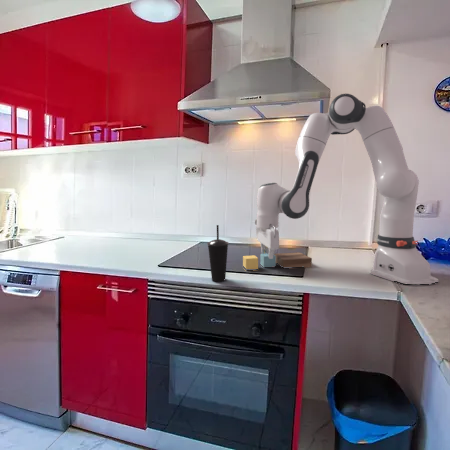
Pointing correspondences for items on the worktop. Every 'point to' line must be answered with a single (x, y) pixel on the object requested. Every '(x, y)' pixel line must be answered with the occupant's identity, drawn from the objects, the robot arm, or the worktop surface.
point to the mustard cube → (250, 262)
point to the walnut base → (293, 260)
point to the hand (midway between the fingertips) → (267, 255)
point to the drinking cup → (218, 258)
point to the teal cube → (267, 260)
